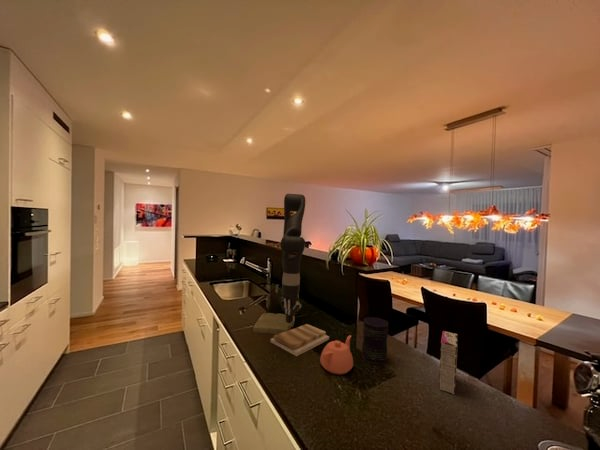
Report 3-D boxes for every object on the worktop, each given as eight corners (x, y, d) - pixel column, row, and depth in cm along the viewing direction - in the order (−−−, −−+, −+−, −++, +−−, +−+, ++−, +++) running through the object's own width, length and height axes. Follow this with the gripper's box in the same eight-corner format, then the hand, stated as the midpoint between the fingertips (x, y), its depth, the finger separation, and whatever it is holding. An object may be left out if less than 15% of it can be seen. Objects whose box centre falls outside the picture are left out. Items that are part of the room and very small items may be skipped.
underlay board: (303, 328, 130) (303, 325, 130) (329, 339, 119) (329, 336, 119) (270, 342, 114) (270, 338, 114) (296, 356, 103) (296, 352, 103)
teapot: (310, 368, 95) (311, 342, 95) (337, 351, 109) (338, 329, 108) (337, 383, 87) (338, 355, 87) (363, 363, 100) (364, 339, 100)
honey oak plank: (296, 330, 123) (297, 327, 123) (316, 339, 115) (316, 336, 115) (273, 338, 112) (273, 335, 112) (293, 349, 104) (293, 345, 104)
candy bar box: (439, 373, 96) (442, 330, 95) (455, 378, 93) (458, 333, 93) (437, 389, 86) (440, 341, 86) (455, 395, 83) (458, 345, 83)
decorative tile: (252, 333, 123) (252, 325, 123) (262, 317, 143) (263, 311, 143) (290, 336, 121) (291, 329, 121) (296, 320, 141) (296, 314, 141)
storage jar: (369, 349, 112) (371, 315, 112) (391, 358, 105) (392, 322, 105) (356, 356, 105) (358, 320, 105) (378, 367, 98) (381, 328, 98)
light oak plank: (306, 326, 128) (306, 323, 128) (325, 334, 120) (325, 331, 120) (297, 330, 124) (297, 327, 124) (316, 339, 115) (317, 335, 115)
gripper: (308, 284, 108) (306, 325, 109) (286, 278, 117) (284, 315, 118) (296, 287, 103) (294, 330, 103) (274, 280, 112) (272, 320, 112)
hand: (289, 322), depth 110 cm, fingers closed
